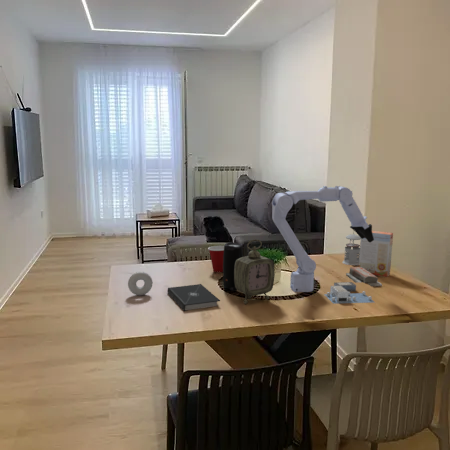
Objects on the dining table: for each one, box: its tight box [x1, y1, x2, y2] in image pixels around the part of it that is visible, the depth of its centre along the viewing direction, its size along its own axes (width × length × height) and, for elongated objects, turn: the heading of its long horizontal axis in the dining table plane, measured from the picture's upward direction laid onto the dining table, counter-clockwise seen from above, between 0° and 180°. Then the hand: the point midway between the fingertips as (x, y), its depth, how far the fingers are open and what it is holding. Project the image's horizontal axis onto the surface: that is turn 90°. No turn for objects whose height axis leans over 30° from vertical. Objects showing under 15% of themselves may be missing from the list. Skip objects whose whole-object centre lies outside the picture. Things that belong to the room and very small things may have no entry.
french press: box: [341, 232, 361, 266], centre depth 249 cm, size 10×12×25 cm
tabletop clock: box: [234, 238, 275, 305], centre depth 189 cm, size 14×9×25 cm, turn 122°
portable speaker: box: [222, 242, 244, 292], centre depth 203 cm, size 9×9×20 cm
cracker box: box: [358, 230, 394, 278], centre depth 229 cm, size 14×6×21 cm, turn 58°
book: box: [167, 283, 221, 312], centre depth 190 cm, size 22×15×3 cm
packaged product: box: [345, 266, 383, 287], centre depth 219 cm, size 18×5×10 cm
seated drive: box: [330, 285, 350, 302], centre depth 191 cm, size 4×8×4 cm, turn 7°
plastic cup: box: [207, 245, 225, 273], centre depth 230 cm, size 11×11×12 cm
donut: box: [127, 271, 153, 296], centre depth 194 cm, size 10×4×10 cm, turn 106°
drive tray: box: [323, 290, 375, 305], centre depth 192 cm, size 17×11×3 cm, turn 97°
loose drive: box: [333, 281, 357, 292], centre depth 202 cm, size 4×8×4 cm, turn 97°
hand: (367, 239), depth 200 cm, fingers open, 7 cm apart
